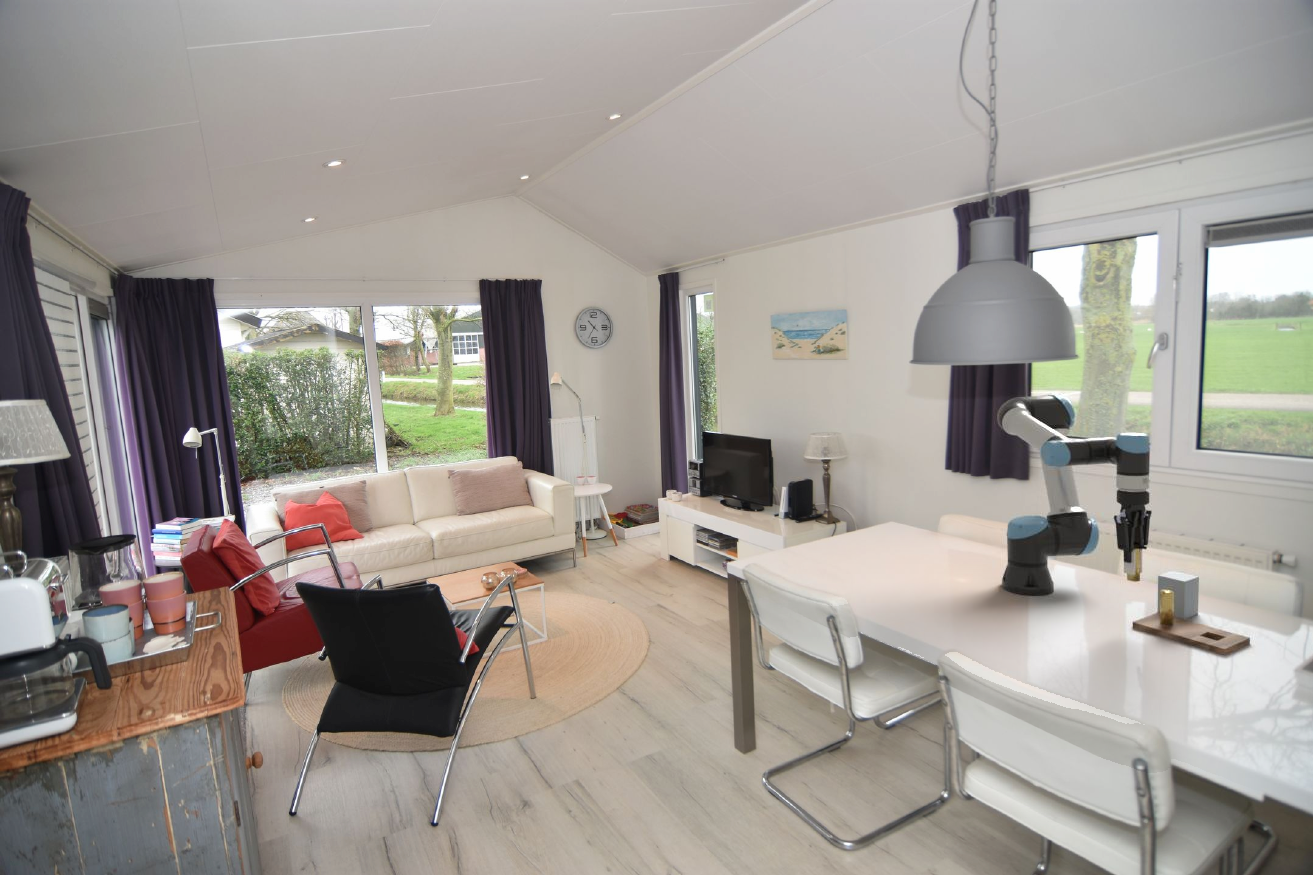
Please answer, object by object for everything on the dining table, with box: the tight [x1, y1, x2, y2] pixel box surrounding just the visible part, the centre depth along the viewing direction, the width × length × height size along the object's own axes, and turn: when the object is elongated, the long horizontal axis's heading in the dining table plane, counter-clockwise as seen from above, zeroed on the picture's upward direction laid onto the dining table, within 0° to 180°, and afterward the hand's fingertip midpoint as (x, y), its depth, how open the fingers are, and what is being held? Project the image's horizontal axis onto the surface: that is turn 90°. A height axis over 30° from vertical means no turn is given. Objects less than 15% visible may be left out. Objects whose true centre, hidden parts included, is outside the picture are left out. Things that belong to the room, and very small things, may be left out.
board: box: [1132, 612, 1251, 656], centre depth 189 cm, size 22×12×2 cm, turn 26°
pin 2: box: [1159, 590, 1174, 625], centre depth 193 cm, size 3×3×9 cm
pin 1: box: [1126, 547, 1141, 583], centre depth 196 cm, size 3×3×9 cm
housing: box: [1157, 570, 1200, 620], centre depth 203 cm, size 7×7×11 cm
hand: (1132, 572), depth 196 cm, fingers closed on pin 1, 2 cm apart
